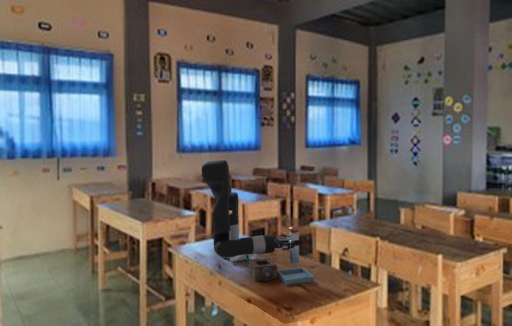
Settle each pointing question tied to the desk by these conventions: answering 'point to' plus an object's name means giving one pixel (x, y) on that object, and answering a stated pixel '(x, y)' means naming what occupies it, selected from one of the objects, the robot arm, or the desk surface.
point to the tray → (295, 276)
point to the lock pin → (294, 251)
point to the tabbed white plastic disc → (241, 257)
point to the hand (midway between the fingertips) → (300, 241)
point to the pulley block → (263, 269)
